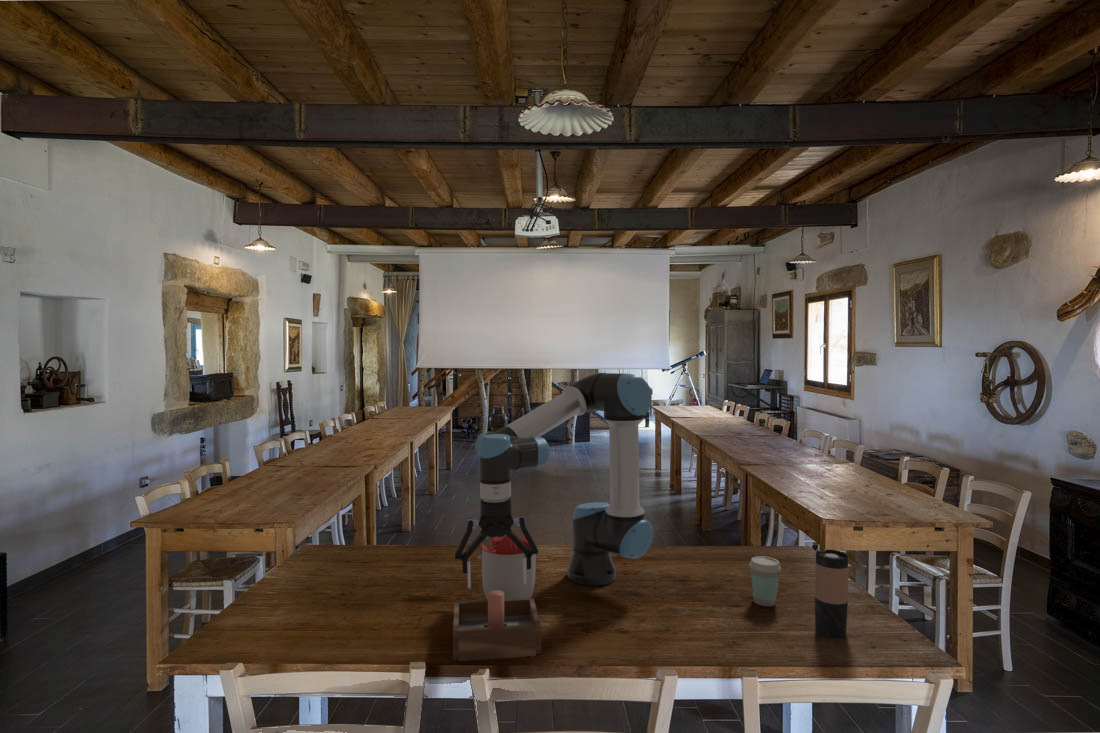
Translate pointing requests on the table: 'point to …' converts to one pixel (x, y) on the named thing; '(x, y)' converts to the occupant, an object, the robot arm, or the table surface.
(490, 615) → the peg
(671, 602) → the table surface
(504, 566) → the citrus juicer
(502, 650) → the open box
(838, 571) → the travel mug
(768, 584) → the coffee cup
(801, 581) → the table surface
